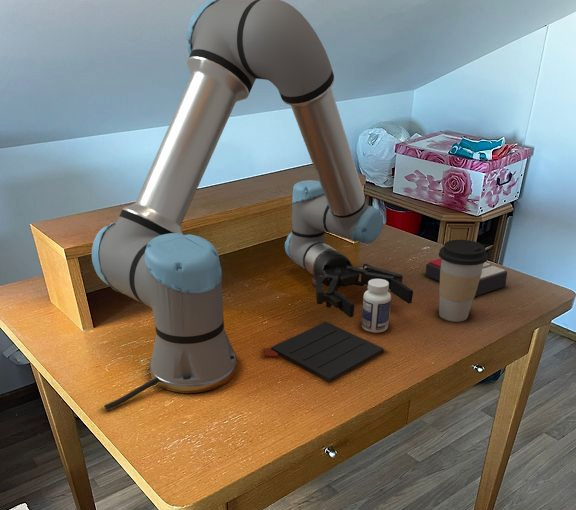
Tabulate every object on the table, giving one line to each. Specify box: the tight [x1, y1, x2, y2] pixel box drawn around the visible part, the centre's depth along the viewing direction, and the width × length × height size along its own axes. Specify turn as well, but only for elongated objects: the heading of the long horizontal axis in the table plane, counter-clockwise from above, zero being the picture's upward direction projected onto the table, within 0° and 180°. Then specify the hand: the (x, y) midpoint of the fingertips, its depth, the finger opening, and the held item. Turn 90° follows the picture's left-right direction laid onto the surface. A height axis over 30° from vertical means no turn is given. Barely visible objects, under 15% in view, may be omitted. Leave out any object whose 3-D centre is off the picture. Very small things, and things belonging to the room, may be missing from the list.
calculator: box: [425, 257, 508, 297], centre depth 139 cm, size 11×4×15 cm
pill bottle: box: [361, 279, 392, 334], centre depth 118 cm, size 5×5×10 cm
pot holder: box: [264, 321, 385, 383], centre depth 112 cm, size 17×16×1 cm
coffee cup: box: [438, 239, 489, 323], centre depth 121 cm, size 9×9×15 cm
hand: (382, 304), depth 116 cm, fingers open, 13 cm apart
